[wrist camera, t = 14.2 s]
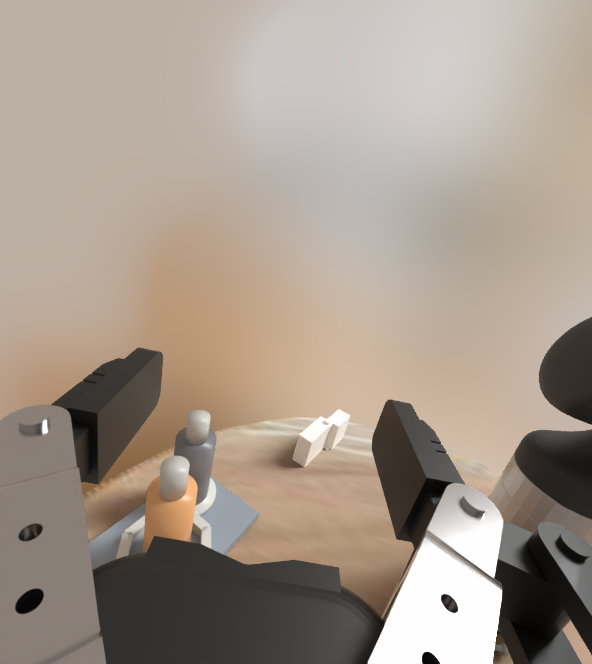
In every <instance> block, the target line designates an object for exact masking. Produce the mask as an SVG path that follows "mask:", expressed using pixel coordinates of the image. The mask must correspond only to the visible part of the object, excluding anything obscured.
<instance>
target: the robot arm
mask: <svg viewBox="0 0 592 664" xmlns="http://www.w3.org/2000/svg"><path fill="white" fill-rule="evenodd" d="M162 365H163V355H162V353H161V352H158V351H153V350H148V349H144V348H137V349H136V350H135V351H133V352H132V353H131V354H130V355H129V356H127V357H126V358H125V359H120V358H118V359H115V360H113V361H110V362H107V363H105V364H103V365H101V366H100V367H99V368H97V369H96V370H95V371H94V372H93V373H92V374H90V375H89V376H87V377H86V378H85V379H84V380H83V382H82V381H81V382H80V383H78V384H77V385H76V386H74V387H73V388H72V389H71V390H69V391H68V392H67V393H66V394H64V395H63V396H62V397H60V398H59V399H58V400H57V401H55V402H54V403H53V404H52V405H39V406H32V407H27V408H24V409H20V410H18V411H15V412H13V413H11V414H9V415H7V416H6V417H4V418H3V419H2V420H1V421H0V664H492V660H493V653H494V646H495V639H496V632H497V631H499V632H500V633H501V634H502V636H503V639H504V641H505V644H506V646H507V648H508V651H509V653H510V656H511V658H512V660H513V663H514V664H582V663H581V662H580V660H579V658H578V656H577V655H576V653H575V651H574V649H573V648H572V646H571V644H570V642H569V641H568V639H567V637H566V635H565V633H564V632H563V630H562V629H563V628H564V627H565V626H566V625H567V623H568V622H569V621H570V620H571V621H572V623H573V624H574V626H575V628H576V629H577V631H578V633H579V634H580V636H581V638H582V639H583V641H584V643H585V644H586V646H587V648H588V649H589V651H590V653H591V654H592V430H586V431H577V432H576V431H575V432H567V431H551V430H537V431H533V432H531V433H528V434H527V435H526V436H525V437H524V438H523V440H522V441H521V443H520V444H519V446H518V448H517V449H516V451H515V453H514V454H513V456H512V458H511V459H510V462H509V463H508V465H507V466H506V468H505V470H504V471H503V473H502V475H501V477H500V478H499V480H498V482H497V483H496V485H495V487H494V488H493V490H492V492H491V493H490V495H489V497H488V498H487V497H486V496H485V495H484V494H482V493H481V492H479V491H478V490H476V489H474V488H472V487H470V486H467V485H465V483H464V482H463V480H462V478H461V476H460V475H459V473H458V471H457V470H456V468H455V466H454V464H453V463H452V461H451V459H450V457H449V456H448V454H446V451H445V449H444V447H443V445H441V442H440V440H439V438H438V437H437V435H436V433H435V432H434V431H433V429H431V428H430V427H429V426H428V425H427V424H426V423H425V422H424V421H423V420H419V418H418V416H417V415H416V412H415V411H414V409H413V407H412V405H411V404H409V403H404V402H400V401H394V400H388V401H387V402H386V403H385V406H384V408H383V411H382V413H381V416H380V419H379V421H378V424H377V427H376V429H375V432H374V435H373V439H372V452H373V456H374V459H375V463H376V467H377V470H378V474H379V477H380V481H381V485H382V488H383V492H384V495H385V499H386V503H387V506H388V510H389V513H390V517H391V521H392V524H393V528H394V531H395V535H396V539H398V540H403V541H409V542H412V543H413V546H414V550H413V552H412V554H411V556H410V558H409V560H408V562H407V564H406V567H405V569H404V571H403V573H402V575H401V577H400V579H399V581H398V583H397V586H396V588H395V590H394V592H393V594H392V596H391V598H390V600H389V602H388V605H387V607H386V609H385V611H384V613H383V615H382V617H380V616H379V615H378V613H377V612H376V611H375V610H374V609H373V608H372V607H370V606H369V605H368V604H367V603H366V602H365V601H364V600H362V599H361V598H360V597H359V596H357V595H356V594H354V593H353V592H351V591H350V590H348V589H346V588H345V587H342V586H341V585H340V574H339V568H338V567H332V566H326V565H321V564H315V563H309V562H303V561H298V560H290V561H281V562H271V563H262V564H253V565H246V564H243V563H240V562H238V561H236V560H234V559H232V558H230V557H227V556H225V555H223V554H221V553H219V552H217V551H215V550H213V549H211V548H209V547H206V546H204V545H202V544H199V543H193V542H188V541H182V540H176V539H170V538H164V537H159V536H154V537H153V539H152V542H151V544H150V546H149V548H148V550H147V552H145V553H137V554H133V555H128V556H124V557H121V558H118V559H115V560H112V561H110V562H108V563H106V564H103V565H101V566H99V567H97V568H95V569H93V570H92V564H91V557H90V549H89V541H88V534H87V526H86V518H85V510H84V503H83V495H82V487H81V483H82V481H83V482H88V483H94V484H99V483H100V481H101V480H102V479H103V477H104V476H105V475H106V473H107V472H108V471H109V469H110V468H111V467H112V465H113V464H114V462H115V461H116V460H117V458H118V457H119V456H120V454H121V453H122V452H123V450H124V449H125V448H126V446H127V445H128V444H129V442H130V441H131V440H132V438H133V437H134V436H135V434H136V433H137V431H138V430H139V429H140V428H141V426H142V425H143V423H144V422H145V421H146V419H147V418H148V417H149V415H150V414H151V413H152V411H153V410H154V408H155V407H156V405H157V403H158V400H159V396H160V391H161V379H162ZM539 383H540V388H541V391H542V393H543V395H544V396H545V398H546V399H547V400H548V401H549V402H550V404H552V405H553V406H554V407H556V408H557V409H559V410H560V411H561V412H563V413H565V414H567V415H569V416H571V417H573V418H576V419H578V420H581V421H583V422H586V423H588V424H592V317H591V318H589V319H587V320H584V321H583V322H581V323H579V324H577V325H576V326H574V327H573V328H571V329H570V330H568V331H567V332H566V333H565V334H563V335H562V336H561V337H560V338H559V339H558V340H557V341H556V342H555V343H554V344H553V345H552V346H551V348H550V349H549V350H548V352H547V353H546V355H545V357H544V359H543V361H542V364H541V367H540V372H539Z"/></svg>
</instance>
